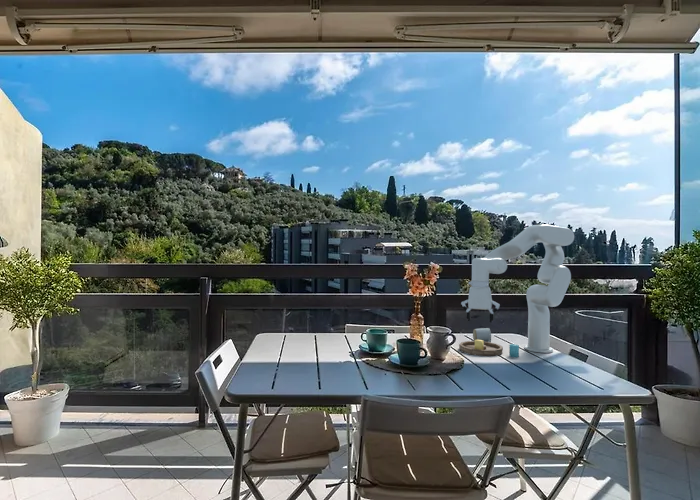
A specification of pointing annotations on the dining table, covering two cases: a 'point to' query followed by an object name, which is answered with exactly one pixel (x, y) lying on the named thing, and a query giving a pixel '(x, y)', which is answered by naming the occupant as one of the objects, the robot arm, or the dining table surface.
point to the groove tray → (489, 350)
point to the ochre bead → (479, 344)
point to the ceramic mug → (482, 334)
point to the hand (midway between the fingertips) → (480, 321)
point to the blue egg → (514, 350)
